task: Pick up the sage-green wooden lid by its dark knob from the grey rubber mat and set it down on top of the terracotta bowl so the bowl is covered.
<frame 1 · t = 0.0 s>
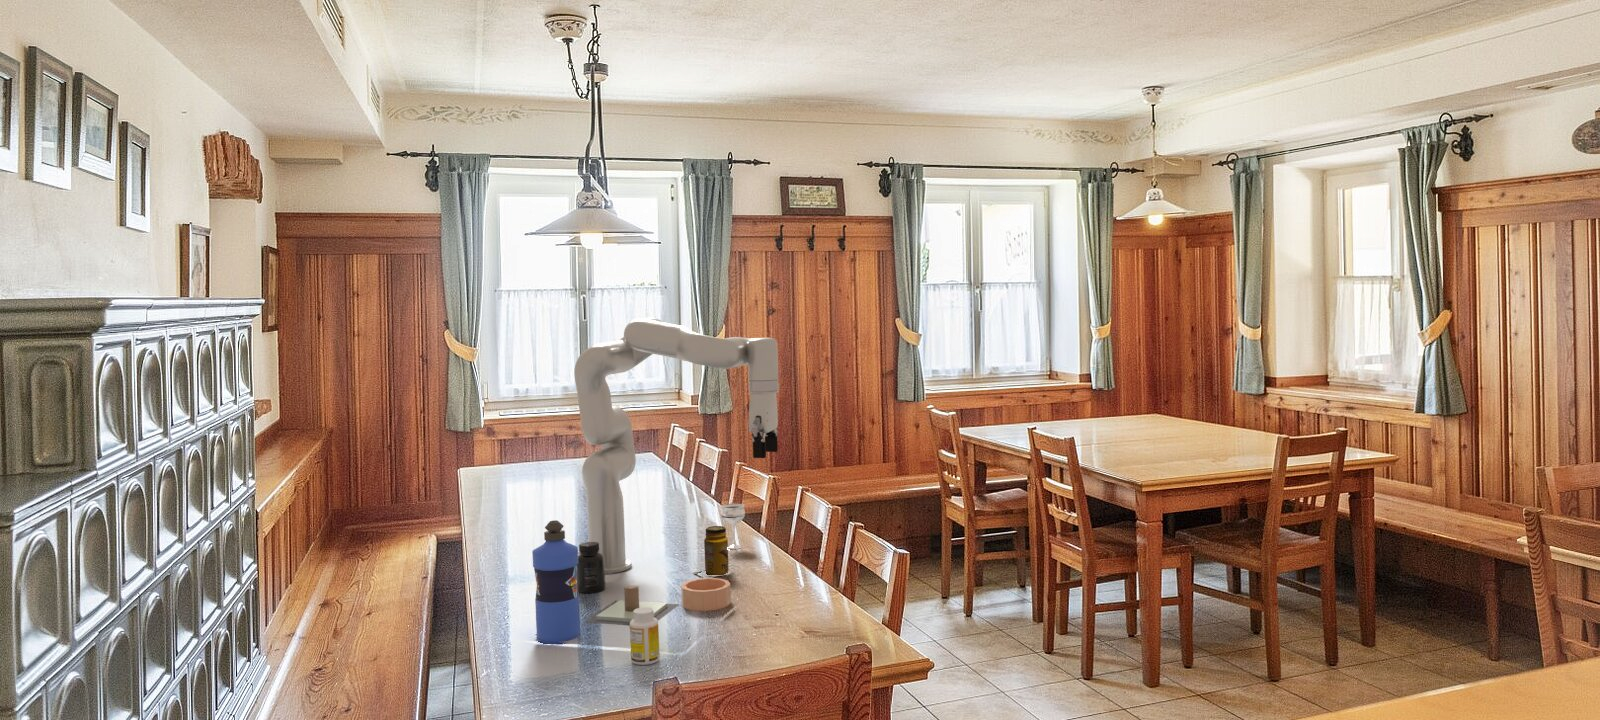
hand: (765, 454, 257), 31 cm above the table, tool pointing down, fingers open, 9 cm apart
wineglass: (734, 548, 291), on the table
supplement bottle 2: (645, 662, 202), on the table
bowl: (706, 605, 236), on the table
mat: (632, 615, 231), on the table
condiment: (713, 574, 264), on the table
supplement bottle: (591, 593, 250), on the table
lid: (632, 612, 231), point 1 cm above the table, touching mat
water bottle: (558, 638, 217), on the table
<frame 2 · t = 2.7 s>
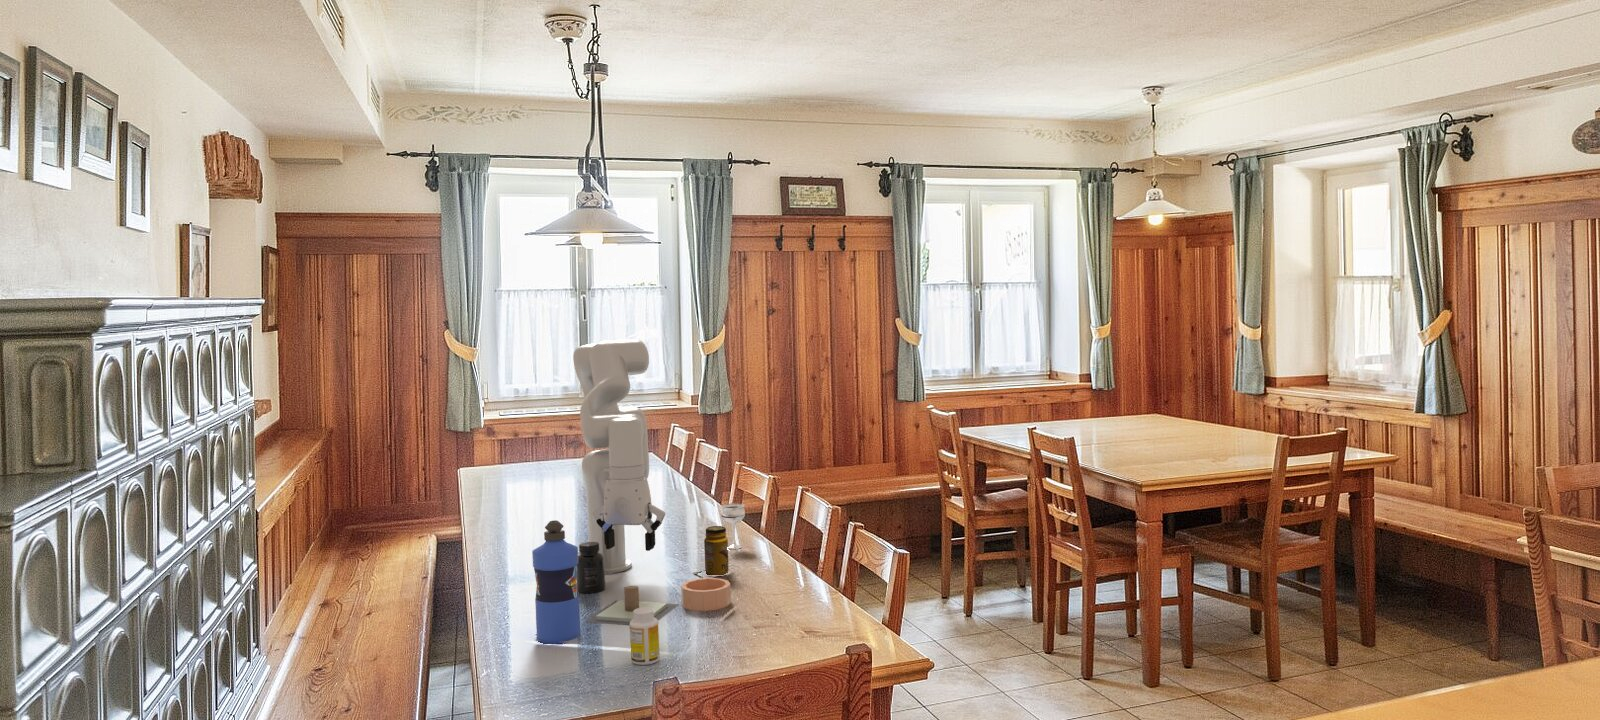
hand: (630, 548, 229), 15 cm above the table, tool pointing down, fingers open, 9 cm apart
nothing on the table moved.
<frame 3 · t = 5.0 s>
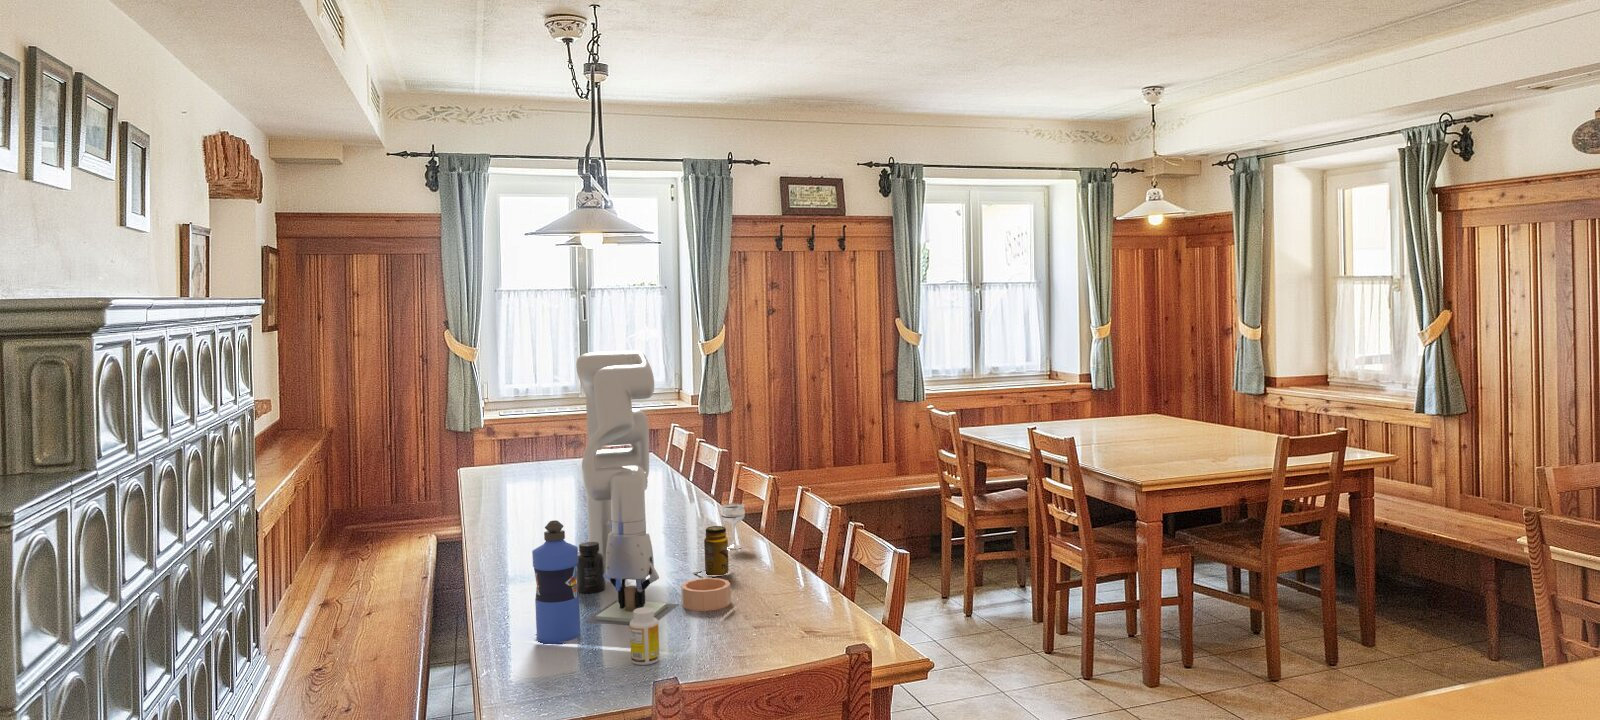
hand: (632, 606, 230), 2 cm above the table, tool pointing down, fingers closed on lid, 3 cm apart
lid: (632, 612, 231), point 1 cm above the table, touching gripper, mat
everything else where it was.
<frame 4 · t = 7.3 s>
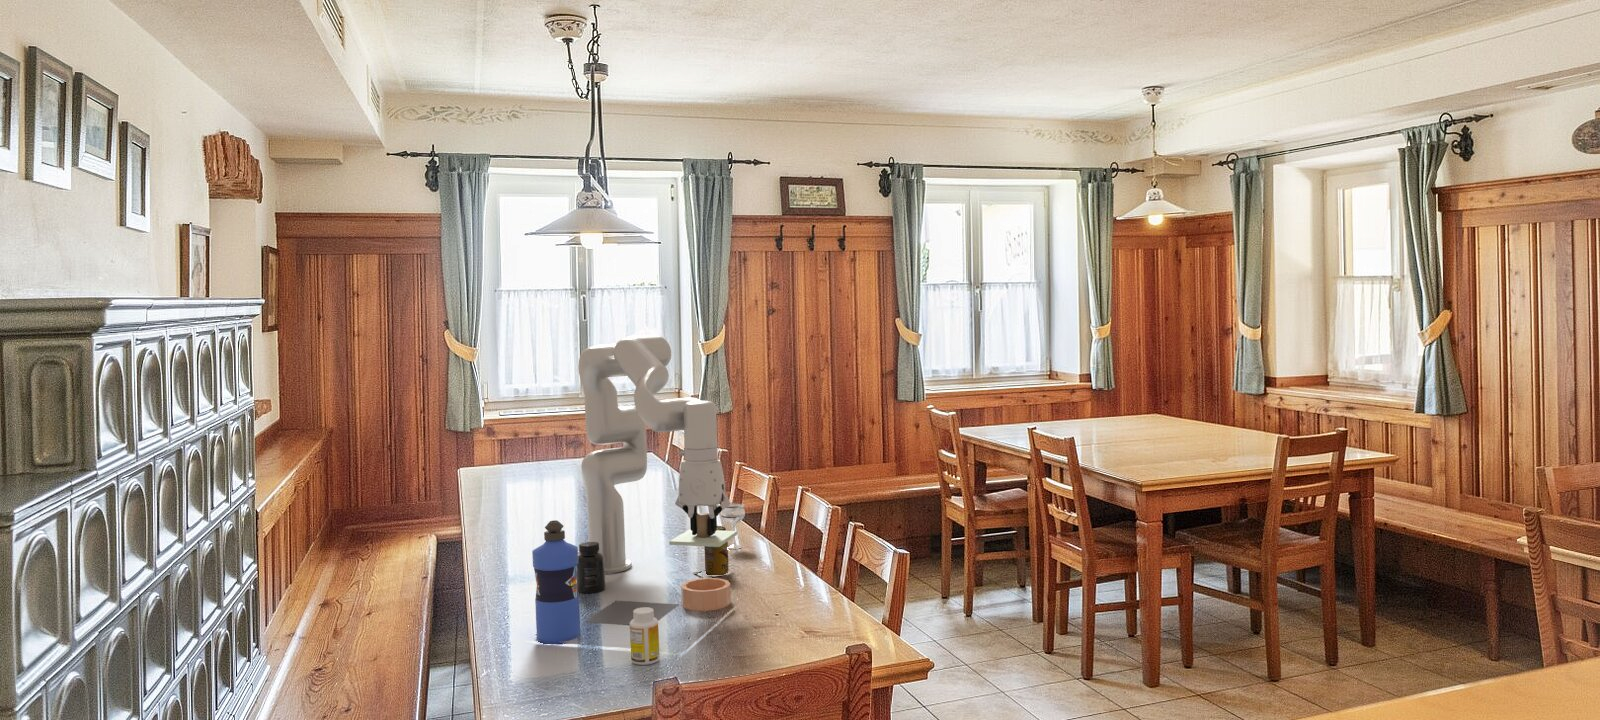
hand: (703, 533, 235), 17 cm above the table, tool pointing down, fingers closed on lid, 3 cm apart
lid: (703, 539, 235), point 16 cm above the table, touching gripper
everything else where it was.
when the fingers open (8 cm above the table, at t = 9.5 s): lid drops 1 cm, resting on bowl.
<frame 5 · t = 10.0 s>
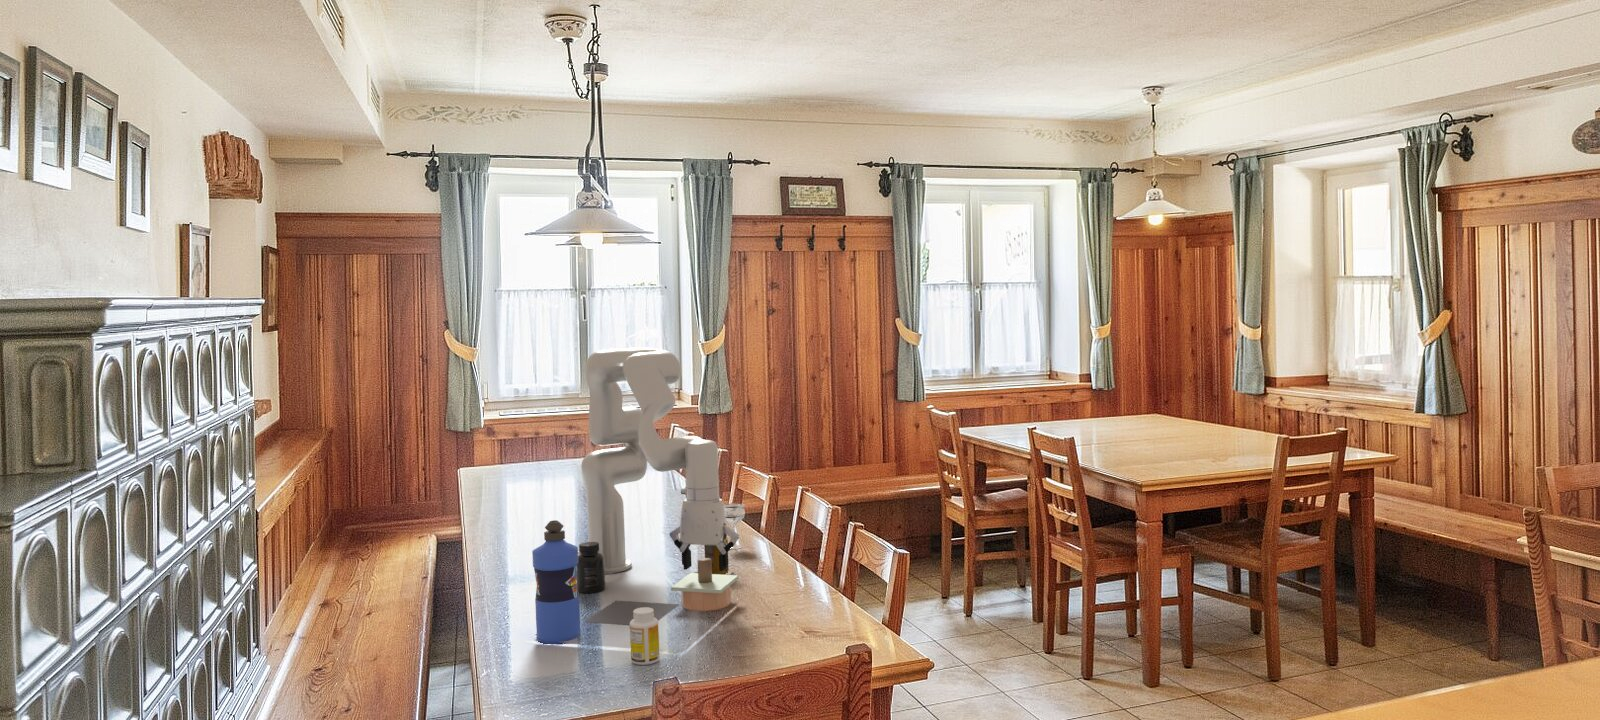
hand: (705, 568, 236), 9 cm above the table, tool pointing down, fingers open, 8 cm apart
lid: (705, 584, 236), point 5 cm above the table, touching bowl
everything else where it was.
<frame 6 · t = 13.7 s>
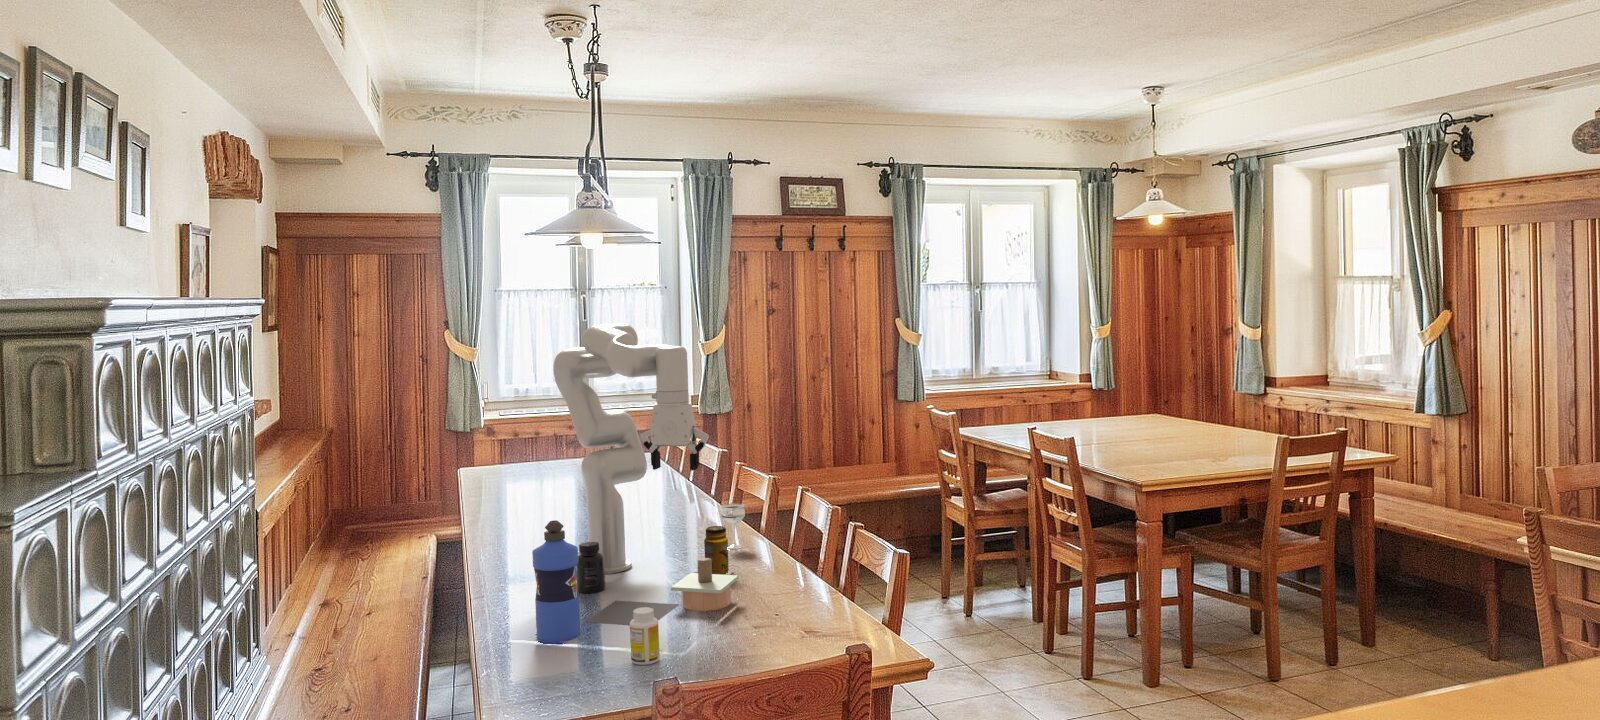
hand: (675, 469, 245), 30 cm above the table, tool pointing down, fingers open, 9 cm apart
nothing on the table moved.
at the end: lid 0.1 cm off-centre on the bowl, point 5.0 cm above the bowl's base; lid tilted 0°; the gripper is holding nothing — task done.
